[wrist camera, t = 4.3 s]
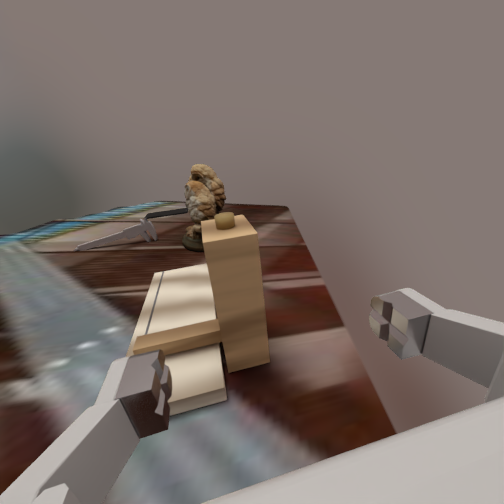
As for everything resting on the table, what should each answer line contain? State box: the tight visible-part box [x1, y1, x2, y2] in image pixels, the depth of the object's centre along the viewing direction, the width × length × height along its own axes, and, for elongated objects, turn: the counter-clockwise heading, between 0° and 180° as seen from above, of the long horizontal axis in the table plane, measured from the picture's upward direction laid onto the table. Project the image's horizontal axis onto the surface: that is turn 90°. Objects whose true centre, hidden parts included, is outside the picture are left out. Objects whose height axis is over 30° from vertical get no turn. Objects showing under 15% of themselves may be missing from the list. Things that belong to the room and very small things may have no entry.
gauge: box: [132, 212, 270, 373], centre depth 21 cm, size 6×12×14 cm, turn 103°
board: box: [126, 264, 227, 416], centre depth 29 cm, size 24×9×2 cm, turn 13°
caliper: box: [74, 218, 157, 251], centre depth 58 cm, size 20×1×6 cm, turn 96°
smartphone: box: [144, 208, 188, 219], centre depth 87 cm, size 7×1×15 cm
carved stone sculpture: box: [182, 164, 226, 252], centre depth 54 cm, size 18×12×17 cm, turn 13°
